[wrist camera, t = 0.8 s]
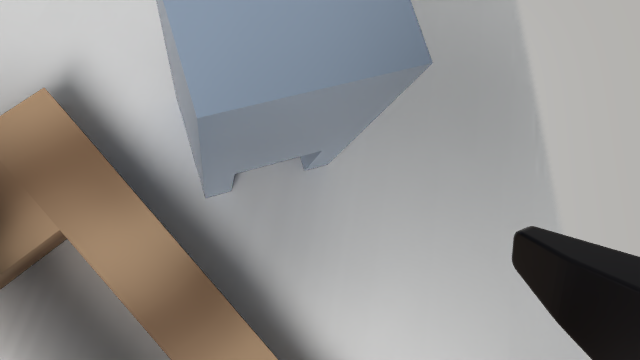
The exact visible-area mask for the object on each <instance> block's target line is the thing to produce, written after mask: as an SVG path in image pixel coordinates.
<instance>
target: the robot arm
mask: <svg viewBox="0 0 640 360" xmlns="http://www.w3.org/2000/svg"><path fill="white" fill-rule="evenodd" d="M512 262H513V265H514V267H515V269H516V270H517V272H518V273H519V274H520V276H521V277H522V278H523V279H524V281H525V282H526V283H527V285H528V286H529V287H530V288H531V290H532V291H533V292H534V294H535V295H536V296H537V298H538V299H539V300H540V301H541V303H542V304H543V305H544V307H545V308H546V309H547V310H548V312H549V313H550V314H551V315H552V317H553V318H554V319H555V320H556V321H557V323H558V324H559V325H560V326H561V327H562V328H563V329H564V330H565V331H566V333H567V334H568V335H569V336H570V337H571V338H572V339H573V340H574V341H575V342H576V343H577V344H578V345H579V346H580V347H581V348H582V349H583V350H584V352H585V353H586V354H587V355H588V356H589V357H590V358H591V359H592V360H640V257H638V256H634V255H631V254H628V253H624V252H621V251H617V250H613V249H610V248H607V247H603V246H600V245H597V244H593V243H589V242H586V241H583V240H579V239H576V238H572V237H569V236H566V235H562V234H559V233H555V232H552V231H548V230H545V229H541V228H538V227H534V226H530V227H527V228H524V229H522V230H520V231H517V232H516V233H515V235H514V240H513V251H512Z"/></svg>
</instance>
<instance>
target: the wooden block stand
mask: <svg viewBox="0 0 640 360" xmlns="http://www.w3.org/2000/svg"><path fill="white" fill-rule="evenodd" d="M66 239H68V240H69V241H70V242H71V244H72V245H73V246H74V247H75V248H76V249H77V251H78V252H79V253H80V254H81V255H82V256H83V258H84V259H85V260H86V261H87V262H88V263H89V265H90V266H91V267H92V268H93V269H94V270H95V272H96V273H97V274H98V275H99V276H100V277H101V279H102V280H103V281H104V282H105V283H106V284H107V286H108V287H109V288H110V289H111V290H112V291H113V293H114V294H115V295H116V296H117V297H118V298H119V300H120V301H121V302H122V303H123V304H124V305H125V307H126V308H127V309H128V310H129V311H130V312H131V314H132V315H133V316H134V317H135V318H136V319H137V321H138V322H139V323H140V324H141V325H142V326H143V328H144V329H145V330H146V331H147V332H148V333H149V335H150V336H151V337H152V338H153V339H154V340H155V342H156V343H157V344H158V345H159V346H160V347H161V349H162V350H163V351H164V352H165V353H166V354H167V356H168V357H169V358H170V359H171V360H278V359H277V357H276V356H275V355H274V354H273V353H272V352H271V350H270V349H269V348H268V347H267V346H266V345H265V343H264V342H263V341H262V340H261V339H260V338H259V336H258V335H257V334H256V333H255V332H254V331H253V329H252V328H251V327H250V326H249V325H248V324H247V322H246V321H245V320H244V319H243V318H242V317H241V315H240V314H239V313H238V312H237V311H236V310H235V308H234V307H233V306H232V305H231V304H230V303H229V301H228V300H227V299H226V298H225V297H224V296H223V295H222V293H221V292H220V291H219V290H218V289H217V288H216V286H215V285H214V284H213V283H212V282H211V281H210V279H209V278H208V277H207V276H206V275H205V274H204V272H203V271H202V270H201V269H200V268H199V267H198V265H197V264H196V263H195V262H194V261H193V260H192V258H191V257H190V256H189V255H188V254H187V253H186V251H185V250H184V249H183V248H182V247H181V246H180V244H179V243H178V242H177V241H176V240H175V239H174V237H173V236H172V235H171V234H170V233H169V232H168V230H167V229H166V228H165V227H164V226H163V225H162V223H161V222H160V221H159V220H158V219H157V218H156V216H155V215H154V214H153V213H152V212H151V211H150V209H149V208H148V207H147V206H146V205H145V204H144V202H143V201H142V200H141V199H140V198H139V197H138V195H137V194H136V193H135V192H134V191H133V190H132V189H131V187H130V186H129V185H128V184H127V183H126V182H125V180H124V179H123V178H122V177H121V176H120V175H119V173H118V172H117V171H116V170H115V169H114V168H113V166H112V165H111V164H110V163H109V162H108V161H107V159H106V158H105V157H104V156H103V155H102V154H101V152H100V151H99V150H98V149H97V148H96V147H95V145H94V144H93V143H92V142H91V141H90V140H89V138H88V137H87V136H86V135H85V134H84V133H83V131H82V130H81V129H80V128H79V127H78V126H77V124H76V123H75V122H74V121H73V120H72V119H71V117H70V116H69V115H68V114H67V113H66V112H65V110H64V109H63V108H62V107H61V106H60V105H59V104H58V102H57V101H56V100H55V99H54V98H53V97H52V96H51V95H50V94H49V92H48V91H47V90H46V89H45V88H43V89H41V90H40V91H38V92H36V93H35V94H33V95H32V96H30V97H29V98H27V99H26V100H24V101H23V102H21V103H20V104H18V105H17V106H15V107H13V108H12V109H10V110H9V111H7V112H6V113H4V114H3V115H1V116H0V289H2V288H3V287H4V286H6V285H7V284H8V283H9V282H11V281H12V280H13V279H15V278H16V277H17V276H19V275H20V274H21V273H23V272H24V271H25V270H27V269H28V268H29V267H31V266H32V265H33V264H35V263H36V262H37V261H39V260H40V259H41V258H42V257H44V256H45V255H46V254H48V253H49V252H50V251H52V250H53V249H54V248H56V247H57V246H58V245H60V244H61V243H62V242H64V241H65V240H66Z"/></svg>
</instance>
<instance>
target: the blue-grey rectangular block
mask: <svg viewBox="0 0 640 360" xmlns="http://www.w3.org/2000/svg"><path fill="white" fill-rule="evenodd" d="M156 1H157V6H158V11H159V16H160V21H161V25H162V30H163V35H164V40H165V45H166V49H167V54H168V59H169V64H170V69H171V73H172V78H173V83H174V88H175V93H176V97H177V101H178V104H179V107H180V111H181V114H182V118H183V121H184V125H185V128H186V132H187V135H188V139H189V142H190V146H191V149H192V153H193V156H194V160H195V163H196V167H197V170H198V174H199V177H200V181H201V184H202V188H203V191H204V195H205V198H208V197H211V196H215V195H218V194H222V193H226V192H229V191H231V190H232V185H233V180H234V175H235V174H237V173H241V172H244V171H248V170H252V169H256V168H259V167H263V166H267V165H270V164H274V163H278V162H282V161H285V160H289V159H293V158H297V157H301V161H302V164H303V167H304V170H309V169H313V168H316V167H320V166H324V165H327V164H329V163H330V162H331V161H332V160H333V159H334V158H335V157H336V156H337V155H338V154H339V153H340V152H341V151H342V150H343V149H344V148H345V147H346V146H347V145H348V144H349V143H350V142H351V141H353V140H354V139H355V138H356V137H357V136H358V135H359V134H360V133H361V132H362V131H363V130H364V129H365V128H366V127H367V126H368V125H369V124H370V123H371V122H372V121H373V120H374V119H375V118H376V117H377V116H378V115H379V114H380V113H381V112H382V111H384V110H385V109H386V108H387V107H388V106H389V105H390V104H391V103H392V102H393V101H394V100H395V99H396V98H397V97H398V96H399V95H400V94H401V93H402V92H403V91H404V90H405V89H406V88H407V87H408V86H409V85H410V84H411V83H412V82H413V81H415V80H416V79H417V78H418V77H419V76H420V75H421V74H422V73H423V72H424V71H425V70H426V69H427V68H428V67H429V66H430V65H431V64H432V60H431V57H430V54H429V51H428V48H427V46H426V43H425V40H424V37H423V34H422V31H421V29H420V26H419V23H418V20H417V17H416V15H415V12H414V9H413V6H412V3H411V0H156Z"/></svg>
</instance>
